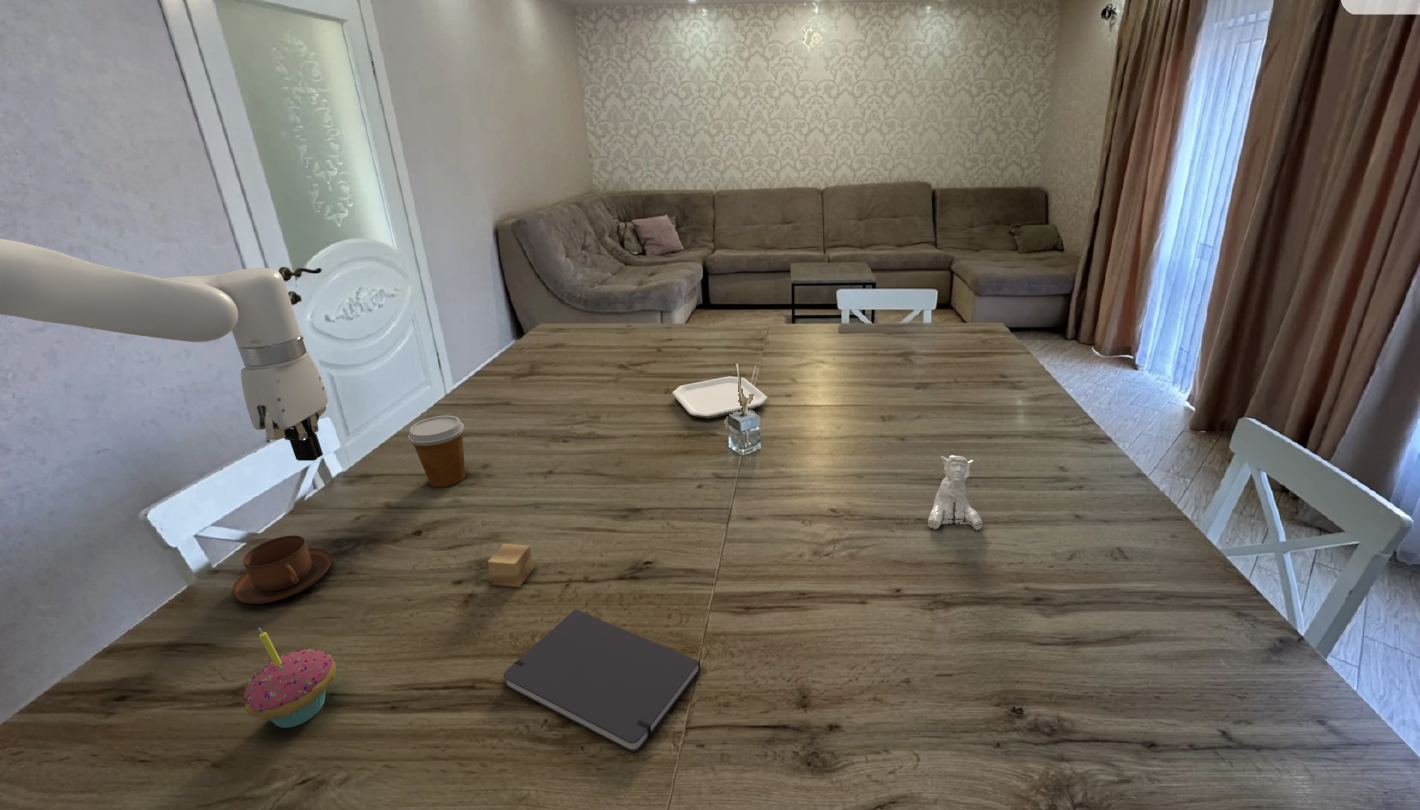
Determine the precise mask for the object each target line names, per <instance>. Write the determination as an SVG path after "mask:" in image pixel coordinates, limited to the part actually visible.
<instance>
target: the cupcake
mask: <svg viewBox="0 0 1420 810" xmlns="http://www.w3.org/2000/svg"><path fill="white" fill-rule="evenodd" d="M257 630H258V631H259V633H260V634H259V635H258V636H259V639H260V640H261V643H262V645H263V647H264V648H265V650H266V652H267V654H268V655H269V657H270V659H271V660H270V661H269V662H268V663H265V664H264V667H262V668H261V669H260V670H258V672H256V673H255V674H254V675H253V676H252V678H251V679H250V680H249V682H248V684H247V685H246V686H245V690H244V693H243V694H244V697H243V702H244V707H245V711H246V713H247V714H248V715H250V716H253V717H254V718H259V719H261V720H269V721H270V722H271V723H273V724H274V725H275V726H277V727H278V728H282V729H289V728H293V727H294V728H295V727H297V726H299V725H302V724H304V723H306V722H308V721H310V720H311V719H312V718H313V717H314V716H316V715H317V714H318V713H319V712H320V711H321V709H322V708H323V706H324V704H325V701H326V700H325V699H326V698H325V697H326V690H327V687H328V685H329V684H330V683H331V682H332V681H333V680H334V678H335V677H336V673H337V665H336V662H335V660H334V659H333V657H332V654H329V653H327V652H326V650H325V649H324V650H318V649H314V648H307V649H304V648H301V649H300V650H296V651H291V652H288V653H285V654H283V655H281V656H279V654H278V653H277V651H276V648H275V647H274V644H273V643H272V640H271V639H270V637H269V635H268V633H267V632H266V631H265V632H263V630H262V629H261V627H257Z"/></svg>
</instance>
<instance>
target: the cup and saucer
mask: <svg viewBox="0 0 1420 810" xmlns="http://www.w3.org/2000/svg"><path fill="white" fill-rule="evenodd" d="M242 562H243V565H244V567H245V570H246V571H245V572H244V573H242V574H241V575H240V576H239V577H238V578H237V580H236V581H235V582H234V584H233V585H232V588H231V595H232V596H233V598H234V599H235V600H236V601H238V602H240V603H244V604H253V605H254V604H255V605H257V604H258V605H260V604H268V603H274V602H277V601H281V600H283V599H287V598H289V597H292V596H294V595H297V594H299V593H301V592H303V591H305V590H306V589H308V588H309V587H311V586H312V585H314V584H315V583H317V582H318V581H319V580H320V579H321V578H323V576H324V575H325V574H326V573H327V572H328V570H329V569H330V567H331V564H332V555H331V554H330V553H329V552H328V551H327V550H325V549H323V548H315V547H310V548H309V547H308V545H307V542H306V540H305V538H304V537H303V536H300V535H284V536H279V537H275V538H272V539H270V540H266V541H265V542H262V543H260V544H258V545H257V546H255V547H253V548H252V549H250V550H249V551H248V552H247V553H246V554H245V555H244V556H243V561H242Z"/></svg>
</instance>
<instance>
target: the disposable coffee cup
mask: <svg viewBox="0 0 1420 810" xmlns="http://www.w3.org/2000/svg"><path fill="white" fill-rule="evenodd" d="M464 428H465V424H464V423H463V422H462V421H461V420H460V418H459V417H458V416H455V415H438V416H432V417H429V418H425V419H423V420H420V421H418V422H416V423H414V424H413V425H412V426H410V427H409V433H408V436H407V438H408V440H409V441H410V443H412V444H413V447H414V449H415V452H416V454H417V457H418V458H419V461H420V463H421V465H422V468H423V470H424V472H425V475H426V478H427V479H428V482H429V484H430V486H432V487H434V488H435V487H436V488H444V487H449V486H450V487H451V486H453V485H455V484H457V483H460V482H461V481H463V480H464V478H465V477H466V465H465V464H466V463H465V451H464V450H465V449H464V439H463V438H464V437H463V432H464Z"/></svg>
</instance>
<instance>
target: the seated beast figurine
mask: <svg viewBox="0 0 1420 810" xmlns="http://www.w3.org/2000/svg"><path fill="white" fill-rule="evenodd" d="M939 458H940V460H941V462H942V464H943V465H944V468H943V473H944V474H945V477H944V478H943V479H942V480H941V482H940V485H939V488H938V491H937V493H935V497H934V500H933V506H932V508H931V511H930V512H929V516H928V518H927V519H928V520H927V526H928V527H929V528H930V529H933V530H938V529H939V528H940V526H941V525H952V524H956V525H960V526H961V525H970V527H972V528H973V530H975V531H980V530H981V529H982V528H983V524H984V522H983V520H982V518H981V516H980V514H979V513H978V512H977V511H976V510H975V509H974V508H972V506H971V504H970V502H969V500H968V499H967V497H968V496H967V495H968V491H967V485H966V483H965V482H966V480H967V479H968V478H969V477H971V470H970V468H971V465H972V463H974V461H975V460H974V459H971V460H969V461H968V459H967V457H964V456H962V455H949V457H948V458H947V457H945V456H943V455H940V456H939ZM943 515H944V516H943ZM964 516H965V517H964ZM954 517H955V518H956V519H962V520H956V519H955V518H954ZM963 518H964V519H963ZM948 519H950V520H948ZM951 519H953V520H951ZM966 519H967V520H968V521H970V522H972V524H973V525H972V524H971V523H970V522H968V521H967V520H966ZM941 521H942V522H941ZM929 523H930V524H929ZM932 523H933V524H932ZM934 524H936V525H934ZM979 524H982V525H979ZM974 525H978V526H974Z"/></svg>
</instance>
